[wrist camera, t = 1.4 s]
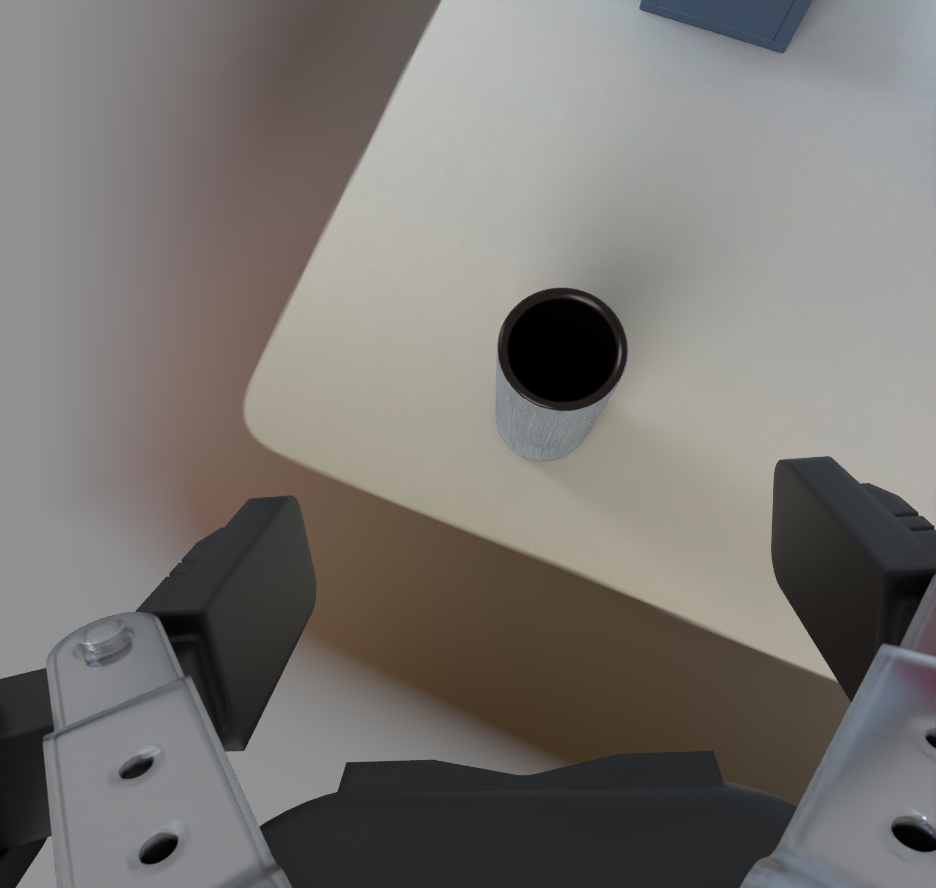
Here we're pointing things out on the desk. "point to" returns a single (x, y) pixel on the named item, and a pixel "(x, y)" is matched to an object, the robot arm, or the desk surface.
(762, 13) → the sorter
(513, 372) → the planter
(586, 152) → the desk surface
